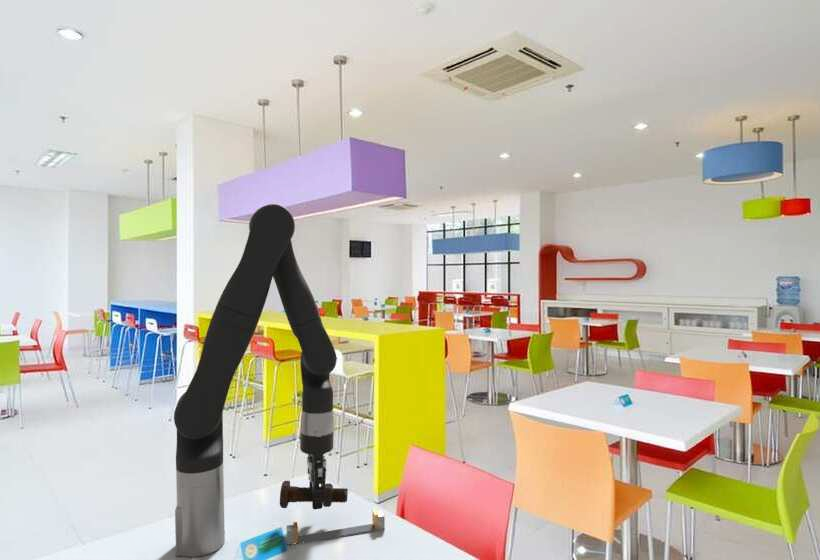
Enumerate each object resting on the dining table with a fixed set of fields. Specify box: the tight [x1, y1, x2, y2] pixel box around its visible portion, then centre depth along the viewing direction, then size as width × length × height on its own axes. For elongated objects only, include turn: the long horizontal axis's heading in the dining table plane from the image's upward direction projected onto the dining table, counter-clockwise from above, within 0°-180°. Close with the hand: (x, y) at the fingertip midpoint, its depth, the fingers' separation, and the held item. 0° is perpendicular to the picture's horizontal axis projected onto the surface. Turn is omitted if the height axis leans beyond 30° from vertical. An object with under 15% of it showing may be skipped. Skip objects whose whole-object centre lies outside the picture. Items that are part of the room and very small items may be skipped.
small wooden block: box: [371, 509, 386, 532], centre depth 113 cm, size 2×2×4 cm
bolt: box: [279, 480, 349, 509], centre depth 116 cm, size 6×5×15 cm
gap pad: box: [298, 523, 376, 544], centre depth 111 cm, size 17×3×1 cm, turn 107°
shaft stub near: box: [286, 521, 299, 546], centre depth 108 cm, size 2×2×4 cm
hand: (315, 502), depth 116 cm, fingers closed on bolt, 5 cm apart
